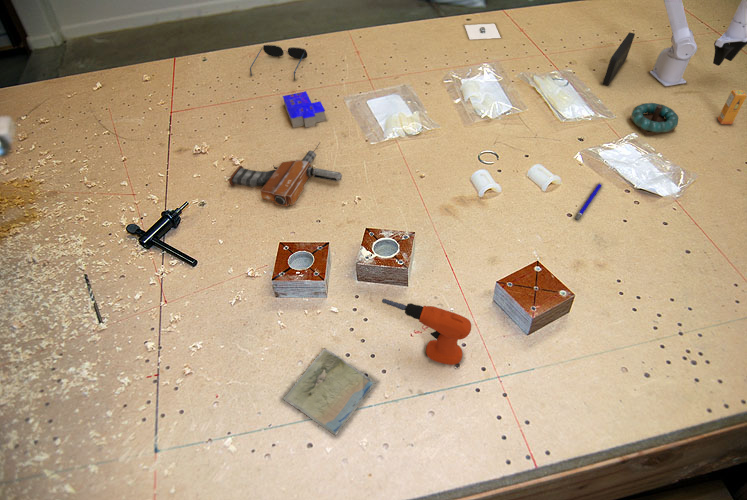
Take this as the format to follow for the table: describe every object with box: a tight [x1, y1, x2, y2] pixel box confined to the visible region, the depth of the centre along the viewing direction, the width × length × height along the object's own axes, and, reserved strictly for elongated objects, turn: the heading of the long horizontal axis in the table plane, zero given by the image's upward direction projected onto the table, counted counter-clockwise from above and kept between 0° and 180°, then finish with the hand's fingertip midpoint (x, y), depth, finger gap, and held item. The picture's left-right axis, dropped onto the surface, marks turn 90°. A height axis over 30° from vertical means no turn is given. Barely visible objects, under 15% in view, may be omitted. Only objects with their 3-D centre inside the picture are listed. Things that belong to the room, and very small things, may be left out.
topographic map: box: [282, 347, 377, 436], centre depth 105 cm, size 14×14×2 cm
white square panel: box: [464, 23, 502, 41], centre depth 204 cm, size 12×12×2 cm
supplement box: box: [717, 89, 747, 125], centre depth 157 cm, size 3×3×10 cm
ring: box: [630, 102, 680, 133], centre depth 159 cm, size 13×13×3 cm
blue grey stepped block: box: [282, 90, 326, 129], centre depth 168 cm, size 11×15×5 cm
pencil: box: [574, 183, 602, 221], centre depth 139 cm, size 17×1×1 cm, turn 143°
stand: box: [630, 104, 676, 137], centre depth 158 cm, size 9×9×7 cm
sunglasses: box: [249, 44, 308, 81], centre depth 189 cm, size 17×15×5 cm
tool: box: [228, 142, 343, 207], centre depth 149 cm, size 4×27×30 cm
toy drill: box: [381, 298, 472, 366], centre depth 105 cm, size 5×19×15 cm, turn 71°
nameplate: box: [602, 31, 636, 86], centre depth 178 cm, size 21×2×10 cm, turn 146°
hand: (722, 61), depth 169 cm, fingers open, 5 cm apart
